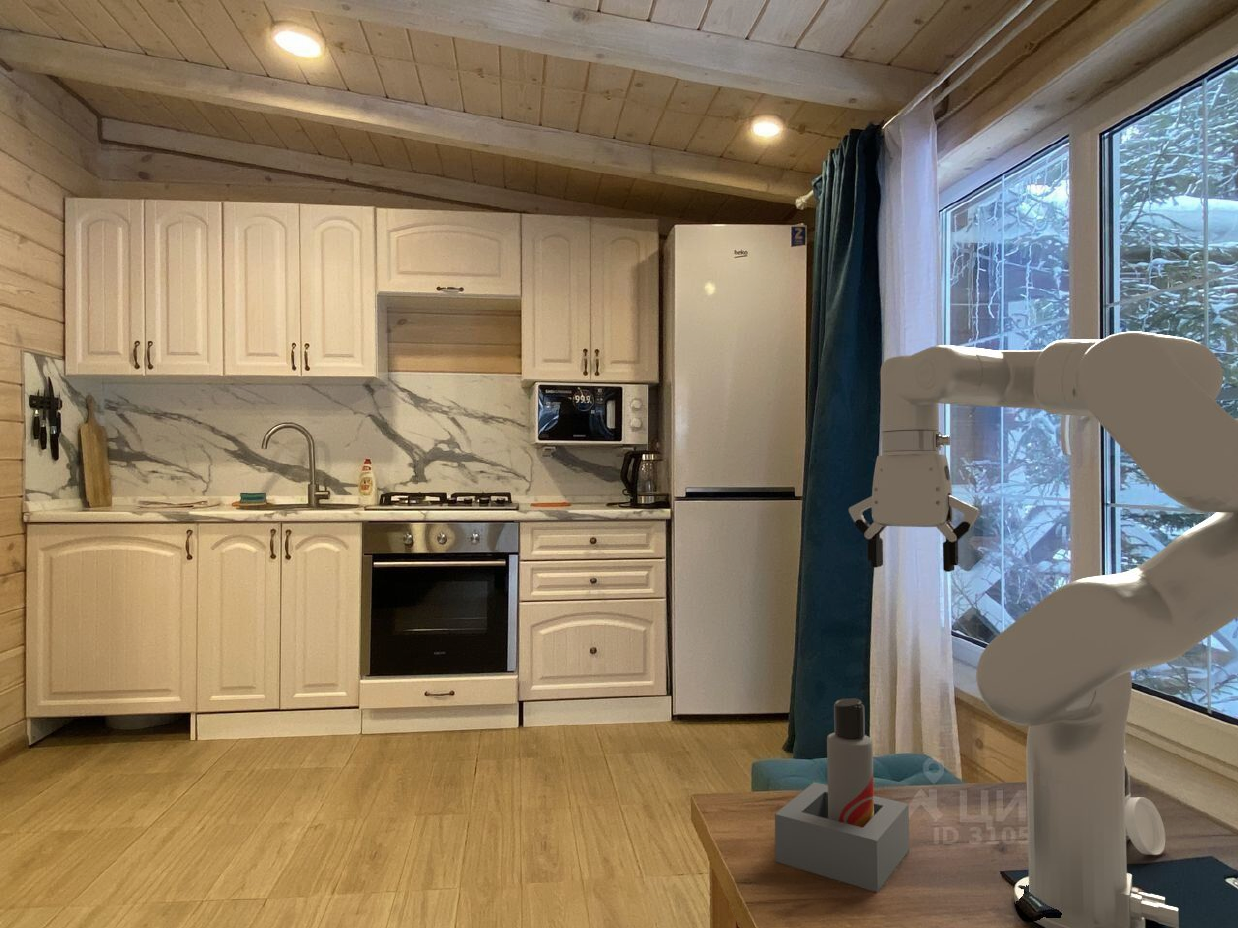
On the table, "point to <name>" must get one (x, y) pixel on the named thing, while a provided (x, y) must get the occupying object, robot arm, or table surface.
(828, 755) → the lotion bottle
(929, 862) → the table surface
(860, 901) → the table surface
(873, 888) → the sleeve
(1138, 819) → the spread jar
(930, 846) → the table surface
